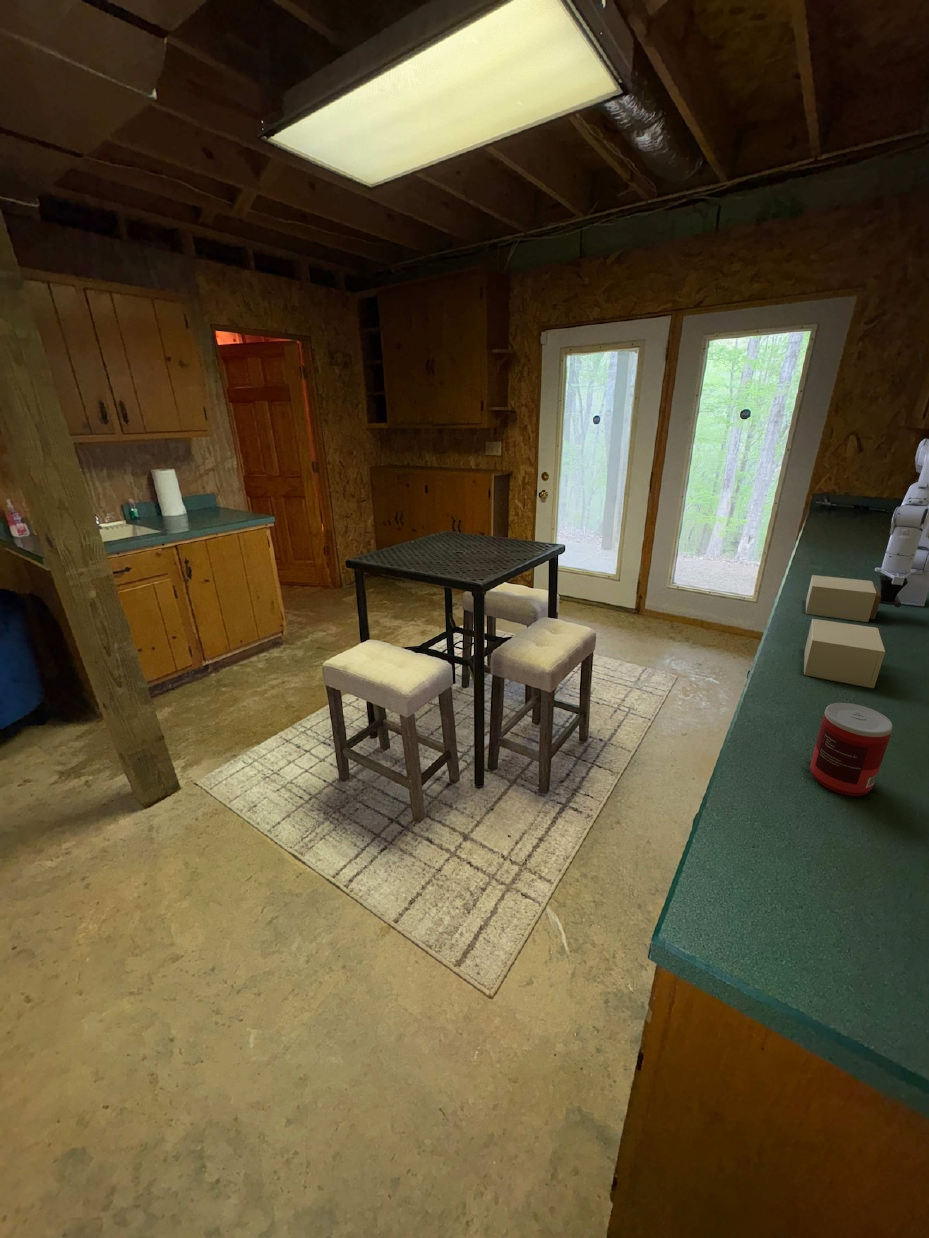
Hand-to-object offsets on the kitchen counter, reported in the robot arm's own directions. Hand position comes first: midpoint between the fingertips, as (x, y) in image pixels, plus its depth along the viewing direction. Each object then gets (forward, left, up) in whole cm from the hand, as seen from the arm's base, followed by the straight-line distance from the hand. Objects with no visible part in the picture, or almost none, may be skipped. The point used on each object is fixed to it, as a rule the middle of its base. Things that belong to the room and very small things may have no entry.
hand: (885, 603), depth 127 cm
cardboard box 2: (+11, +40, -4) cm, 42 cm away
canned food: (+12, +82, -4) cm, 83 cm away
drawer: (+6, 0, -3) cm, 7 cm away
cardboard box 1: (+10, 0, -4) cm, 11 cm away
